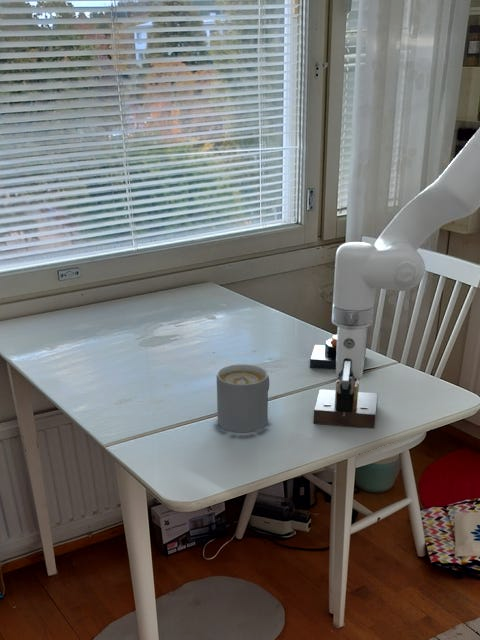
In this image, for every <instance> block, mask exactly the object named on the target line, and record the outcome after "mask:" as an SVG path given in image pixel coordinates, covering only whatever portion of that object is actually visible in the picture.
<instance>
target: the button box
mask: <svg viewBox="0 0 480 640" xmlns="http://www.w3.org/2000/svg"><path fill="white" fill-rule="evenodd" d="M336 349H337V346H335V345H332V337H331V338H329V339H327V340H325V342H324V344H314V346H313V349H312V352H311V356H310V359H309V369H319V370H334V371H336ZM366 352H367V348H365V356H366V354H367V353H366ZM365 361H366V358H365V359H364V363H365Z"/></svg>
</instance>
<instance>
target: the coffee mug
mask: <svg viewBox="0 0 480 640" xmlns="http://www.w3.org/2000/svg"><path fill="white" fill-rule="evenodd" d="M269 390H270V376H269V373H268V371H267V370H266V369H264V368H263V367H262V366H257V365H253V364H248V363H247V364H245V363H244V364H243V363H241V364H240V363H239V364H232V365H228V366H224V367H222V368H221V369H219V370H218V371H217V372H216V405H217V424H218V426H219V427H220V428H222V429H223V430H225V431H228V432H232V433H240V434H241V433H242V434H243V433H244V434H245V433H252V432H256V431H259V430H261V429H263V428H265V427H266V426H267V424H268V413H269V412H268V409H269V407H268V405H269Z"/></svg>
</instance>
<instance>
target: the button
mask: <svg viewBox="0 0 480 640" xmlns="http://www.w3.org/2000/svg"><path fill="white" fill-rule="evenodd" d="M331 338H332V345H335V346H337V334H334V335H332V336H331Z"/></svg>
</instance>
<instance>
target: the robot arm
mask: <svg viewBox="0 0 480 640" xmlns="http://www.w3.org/2000/svg"><path fill="white" fill-rule="evenodd" d="M479 208H480V127H479V128H478V129H477V130H476V132H475V133H474V134H473V135H472V136H471V137H470V139H469V140H468V141H467V142H466V144H465V145H464V146H463V148H461V150H460V151H459V152H458V153H457V154H456V156H455V157H454V158H453V160H451V162H450V163H449V164H448V165H447V167H446V168H445V169H444V171H443V172H442V173H441V174H440V175H439V176H438V178H437V179H436V180H434V181H433V182H432V183H431V184H429V185H428V186H427V187H426V188H424V189H423V190H422V191H421V192H420V193H418V194H417V195H416V196H415V197H414V198H412V199H411V200H410V201H409V202H407V203H406V204H405V205H404V206H403V207H402V208H401V210H399V211H398V213H397V214H396V215H395V216H394V218H392V220H391V221H390V222H389V224H387V226H386V227H385V228H384V229H383V231H382V232H381V234H380V235H379V236H378V237H377V239H376V241H375V243H374V244H372V243H368V242H363V241H351V242H345V243H343V244H341V245H339V247H337V250H336V252H335V262H334V275H333V276H334V277H333V281H334V282H333V294H332V296H333V297H332V311H331V312H332V313H331V323H332V325H334V326H336V327H337V330H336V331H337V333H336V335H337V349H336V370H335V376H336V378H337V379H338V380H339V388H338V391H337V401H336V411H338V412H352V411H353V401H354V392H353V385H354V380H356V381H361V380H362V378H363V373H364V368H365V362H364V359H365V360H366V355H365V348H366V347H367V346H366V345H367V332H368V328H369V327H371V326H372V325H373V321H374V311H375V300H376V289H381V290H387V291H392V292H393V291H394V292H405V291H409V290H411V289H414V288H416V287H417V286H418V285H419V284H420V283H421V282H422V281H423V278H424V277H425V273H426V264H425V261H424V258H423V257H422V255H421V254H420V253H419V251H418V250H419V249H420V247H421V246H422V245H423V244H424V243H425V242H426V241H427V239H428V238H429V237H430V236H431V235H432V234H434V233H435V232H436V231H437V230H439V229H440V228H442V227H443V226H444V225H447V224H448V223H451V222H454V221H457V220H461V219H464V218H466V217H469V216H471V215H472V214H474V213H476V211H478V209H479ZM366 349H367V348H366ZM349 381H351V385H350V384H349Z"/></svg>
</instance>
